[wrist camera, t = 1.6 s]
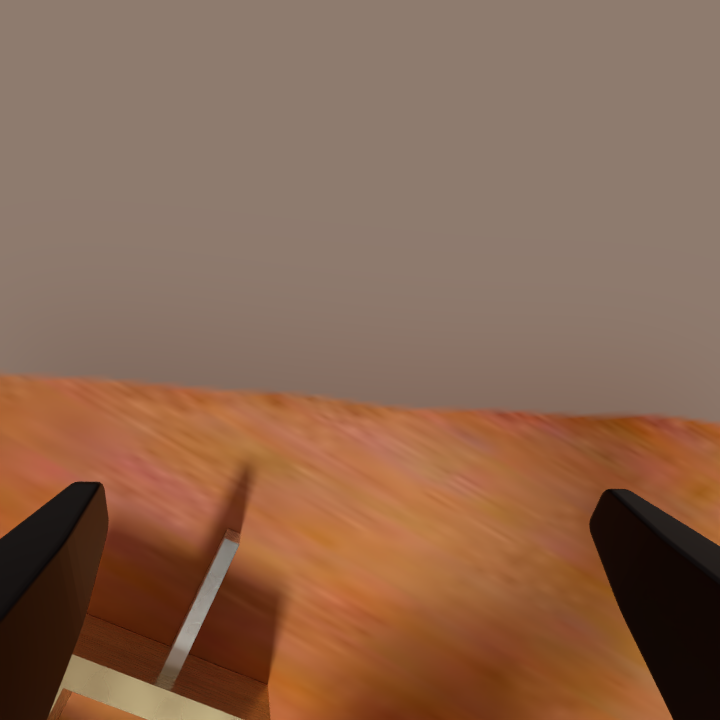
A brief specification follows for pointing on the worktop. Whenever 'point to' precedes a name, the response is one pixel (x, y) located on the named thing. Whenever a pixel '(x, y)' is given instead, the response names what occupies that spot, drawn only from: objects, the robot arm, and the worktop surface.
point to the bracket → (163, 666)
